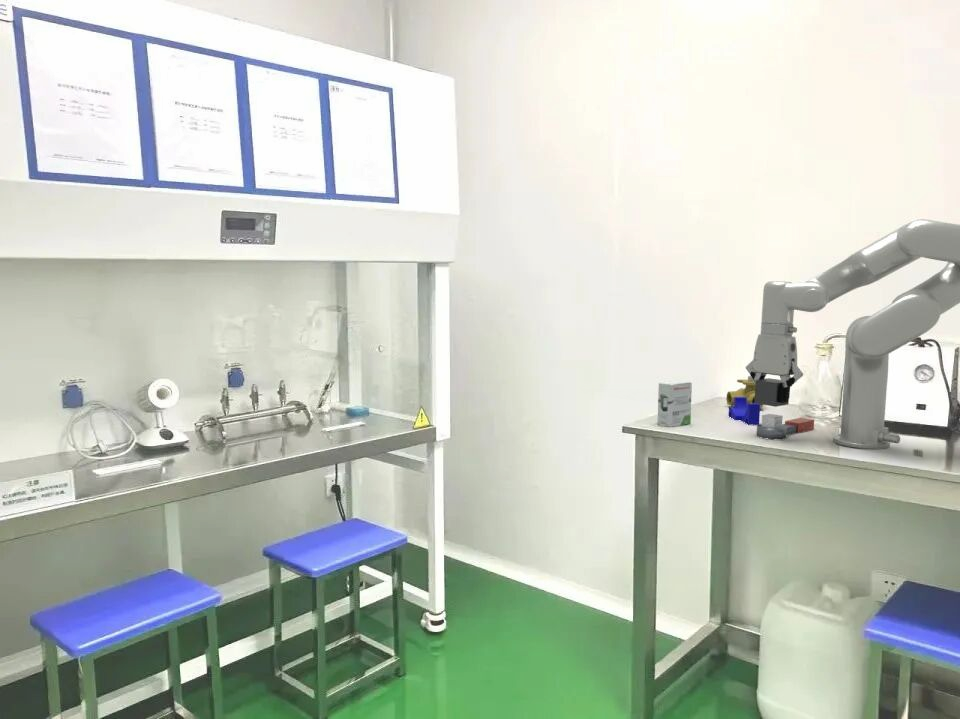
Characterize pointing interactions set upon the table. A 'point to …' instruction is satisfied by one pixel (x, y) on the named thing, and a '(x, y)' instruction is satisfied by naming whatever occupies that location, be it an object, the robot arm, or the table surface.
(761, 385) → the dark cube on disc
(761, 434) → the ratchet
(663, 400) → the ink box
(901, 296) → the robot arm
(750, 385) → the ball valve
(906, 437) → the table surface
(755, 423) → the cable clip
